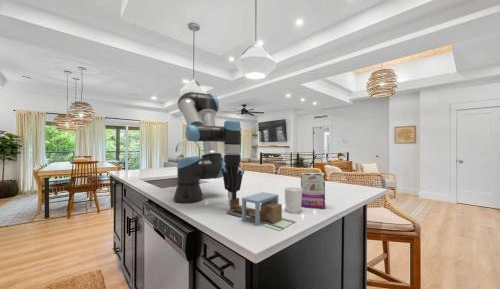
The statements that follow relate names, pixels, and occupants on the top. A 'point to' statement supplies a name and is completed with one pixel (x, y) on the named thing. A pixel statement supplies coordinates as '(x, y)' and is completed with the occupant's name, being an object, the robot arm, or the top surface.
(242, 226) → the top surface
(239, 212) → the dark grey flat plate
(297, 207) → the white cup
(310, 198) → the candy bar box
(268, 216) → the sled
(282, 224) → the mat
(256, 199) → the tunnel
